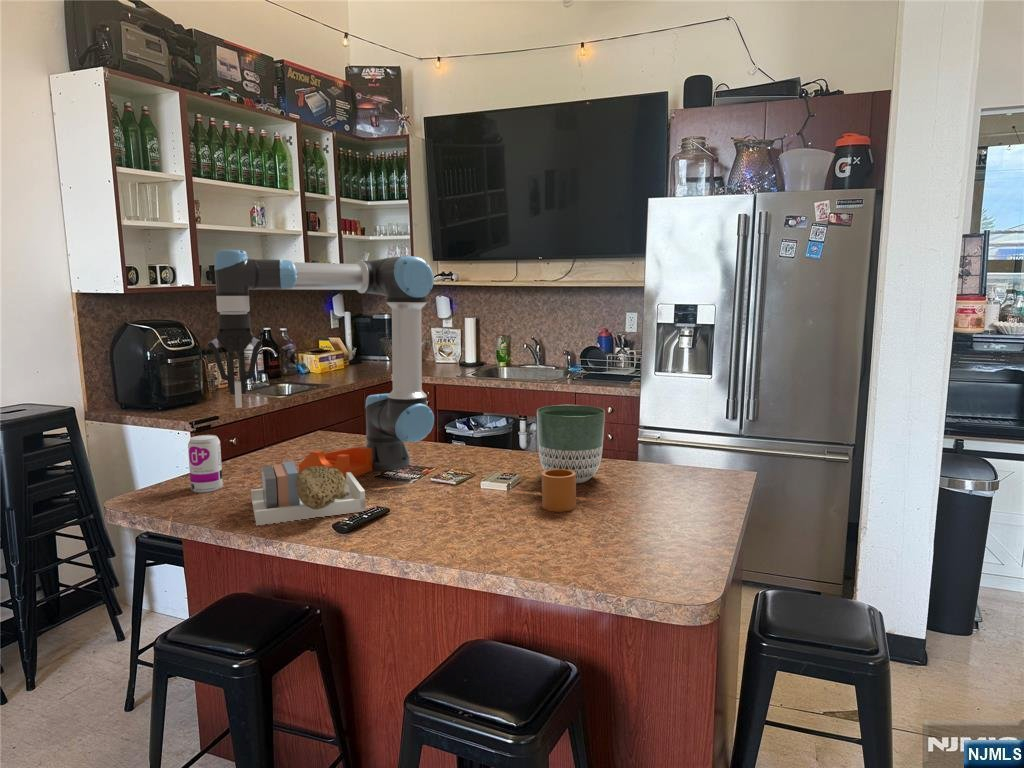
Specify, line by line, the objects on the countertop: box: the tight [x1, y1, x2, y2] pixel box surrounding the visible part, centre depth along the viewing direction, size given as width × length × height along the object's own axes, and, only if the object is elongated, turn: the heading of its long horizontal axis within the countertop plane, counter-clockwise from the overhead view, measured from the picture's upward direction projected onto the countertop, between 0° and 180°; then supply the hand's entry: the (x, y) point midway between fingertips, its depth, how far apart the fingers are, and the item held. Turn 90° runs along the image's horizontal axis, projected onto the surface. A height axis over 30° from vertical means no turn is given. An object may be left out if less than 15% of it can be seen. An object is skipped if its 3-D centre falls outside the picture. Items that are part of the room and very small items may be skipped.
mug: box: [541, 469, 577, 513], centre depth 179 cm, size 9×12×9 cm
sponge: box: [296, 466, 350, 509], centre depth 171 cm, size 13×8×20 cm
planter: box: [536, 404, 606, 485], centre depth 199 cm, size 20×20×21 cm
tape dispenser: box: [298, 445, 374, 479], centre depth 210 cm, size 18×13×8 cm
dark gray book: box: [261, 465, 278, 509], centre depth 174 cm, size 2×14×9 cm, turn 23°
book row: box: [272, 460, 300, 508], centre depth 176 cm, size 5×13×10 cm, turn 23°
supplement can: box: [187, 434, 223, 494], centre depth 193 cm, size 8×8×15 cm
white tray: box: [250, 472, 366, 527], centre depth 178 cm, size 26×20×6 cm
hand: (238, 406), depth 174 cm, fingers closed
